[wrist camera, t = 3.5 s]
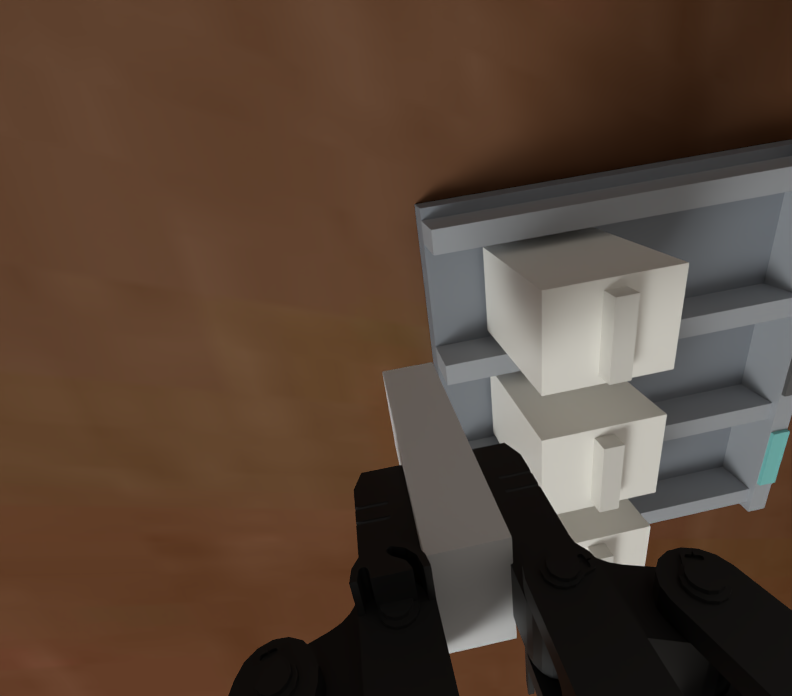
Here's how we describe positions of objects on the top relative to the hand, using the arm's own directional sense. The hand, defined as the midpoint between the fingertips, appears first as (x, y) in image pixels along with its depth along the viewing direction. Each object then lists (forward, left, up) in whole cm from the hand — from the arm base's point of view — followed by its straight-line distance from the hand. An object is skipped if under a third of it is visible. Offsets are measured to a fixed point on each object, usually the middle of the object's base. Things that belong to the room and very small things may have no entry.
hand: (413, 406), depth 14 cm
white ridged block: (+6, +7, -8) cm, 12 cm away
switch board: (+6, +11, -9) cm, 15 cm away
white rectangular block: (0, +7, -8) cm, 10 cm away
